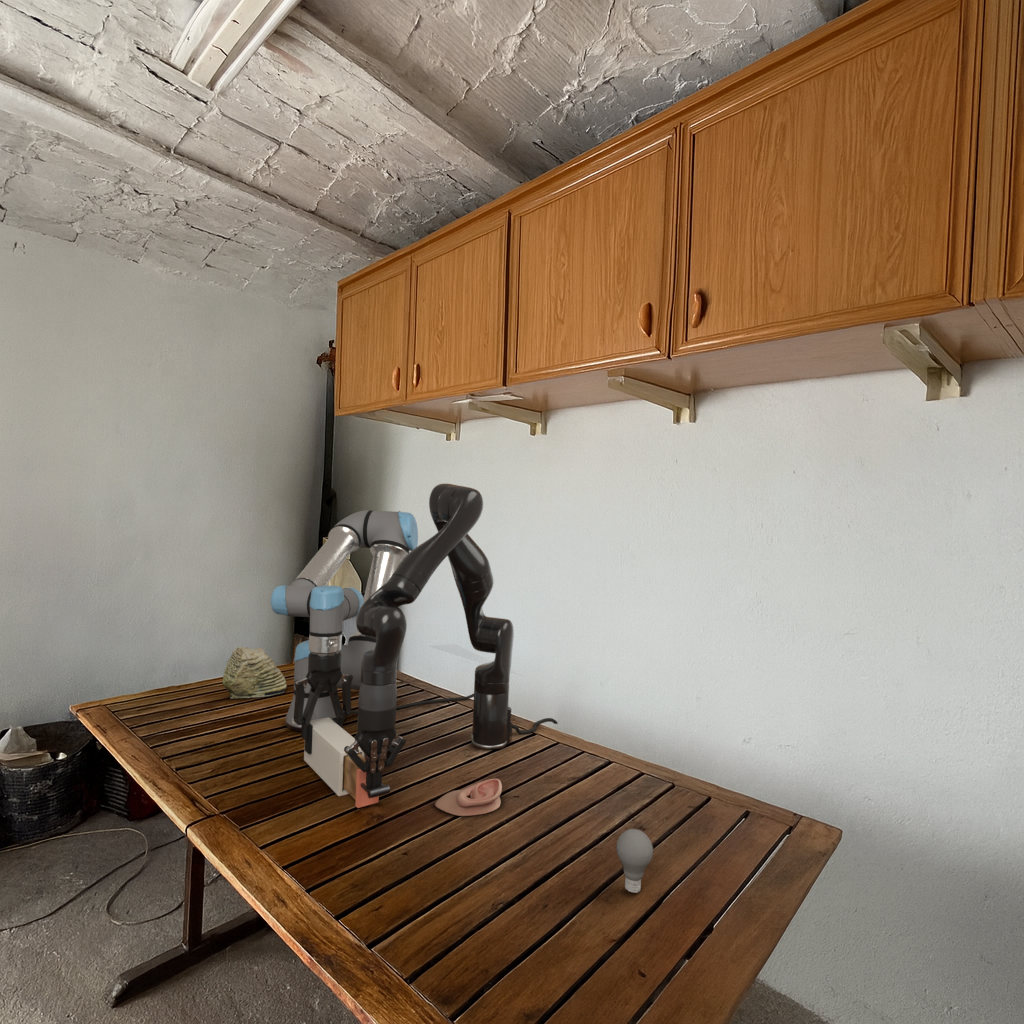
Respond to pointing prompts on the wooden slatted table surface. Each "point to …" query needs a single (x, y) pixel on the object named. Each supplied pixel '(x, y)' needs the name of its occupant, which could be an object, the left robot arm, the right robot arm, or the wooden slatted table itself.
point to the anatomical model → (472, 799)
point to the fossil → (252, 674)
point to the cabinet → (329, 752)
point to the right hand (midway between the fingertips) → (373, 788)
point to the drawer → (360, 784)
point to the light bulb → (634, 857)
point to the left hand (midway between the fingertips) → (321, 748)
